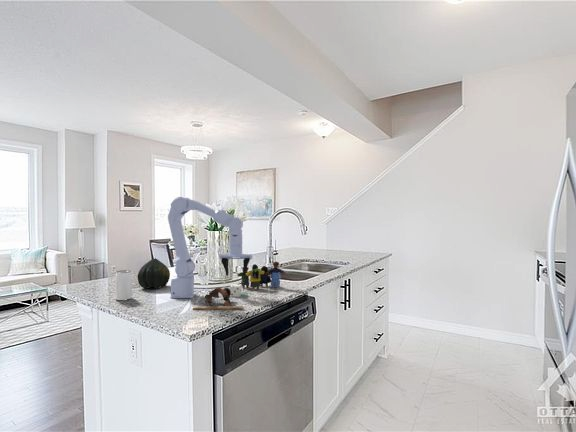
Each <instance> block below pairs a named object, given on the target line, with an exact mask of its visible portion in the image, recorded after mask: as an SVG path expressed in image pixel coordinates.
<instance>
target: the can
mask: <svg viewBox="0 0 576 432" xmlns="http://www.w3.org/2000/svg"><path fill="white" fill-rule="evenodd" d="M114 281H115V284H114V286H115V300H116V299H117V300H125V299H130V298H131V299H132V298H133V273H132V270H129V269H127V270H126V269H124V270H122V269H121V270H117V271H116V273H115V279H114ZM131 299H130V300H131ZM117 300H116V301H117ZM125 301H126V300H125Z"/></svg>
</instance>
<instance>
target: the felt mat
mask: <svg viewBox="0 0 576 432" xmlns="http://www.w3.org/2000/svg"><path fill="white" fill-rule="evenodd" d="M248 294H249V292H241V296H240V297H239V298H247V297H248Z"/></svg>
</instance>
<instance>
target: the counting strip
mask: <svg viewBox="0 0 576 432" xmlns="http://www.w3.org/2000/svg"><path fill="white" fill-rule="evenodd" d="M243 309H244V306H243V305H237V306H236V305H235V306H234V305H232V306H231V305H229V306H225V305H223V306H222V305H219V306H218V305H217V306H213V305H212V306H210V305H208V306H207V305H206V306H205V305H204V306H203V305H202V306H201V305H197V306H196V305H195V306H193V308H192V311H242V310H243Z"/></svg>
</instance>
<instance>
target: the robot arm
mask: <svg viewBox="0 0 576 432" xmlns="http://www.w3.org/2000/svg"><path fill="white" fill-rule="evenodd" d="M168 211H169V212H168V215H167V220H168V224H169V229H170V234H171V239H172V243H173V246H174V247H173V248H174V251H175V255H176V258H175V268H174V272H175V274H176V275H175V276H172V277H171V280H170V281H171V282H170V299H192V298H193V297H194V296H195V295H197V292H195V274H194V271H195V269H196V264H195V262H194V261H193V259H192V256H191V255H190V253H189V249H188V245H187V241H186V237H185V231H184V228H183V224H182V219H183V217H184V216H185V214H187V213H188V212H190V211H198V212H200V213H202V214H205V215H207V216H209V217H212V220H213V222H215V223H217V224H219V225H221V226H224V227H225V228H229V229H228V230H229V237H228V238H229V239H228V240H229V243H228V245H229V250H228V251H229V253H226V254H225V253H224V254H223V253H222V254H219V255H218V256H219V257H218V260H221V261H220V262H221V264H222V265H223V268H224V272H225V276H229V260H242V261H243V267H244V271H243V270H242V272H243V276H245V275H246V269H247V267H248V266H249V263H250V260H253V254H248V253H247V254H246V253H243V225H244V223H243V220H242V219H241V218H240V217H235V216H236V215H234V214H229V213H228V212H226V210H225V209H217V210H215V209H213V208H211V207H209V206H207V205H205V204H203V203H201V202H199V201H197V200H194V199H191V198H189V197H182V196H178V197H175V198H174V199H173V200H172V201H171V203H170V209H169V210H168Z"/></svg>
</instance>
